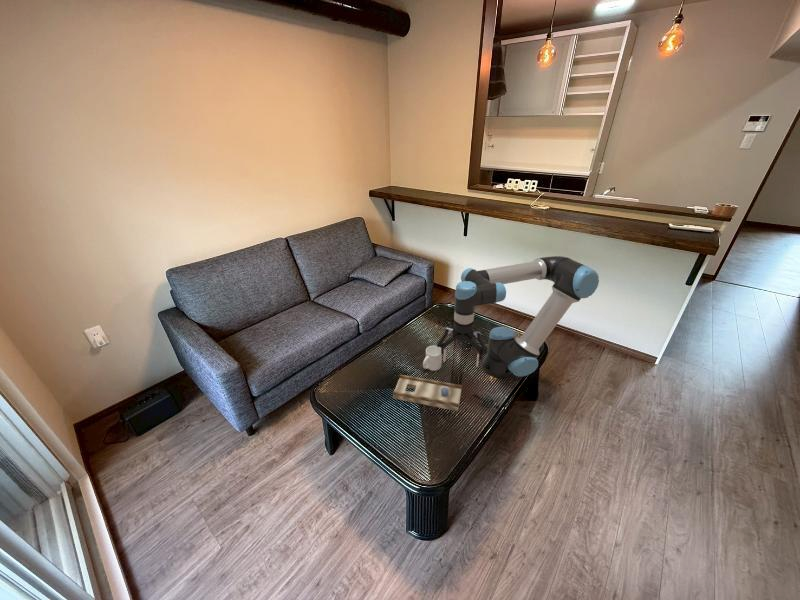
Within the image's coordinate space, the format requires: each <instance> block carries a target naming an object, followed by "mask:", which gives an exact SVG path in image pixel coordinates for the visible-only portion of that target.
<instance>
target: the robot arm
mask: <svg viewBox="0 0 800 600" xmlns="http://www.w3.org/2000/svg"><path fill="white" fill-rule="evenodd" d="M599 279H600V277H599V274H598V273H597V271H596V270H595V269H593V268H591V267H590V266H587V265H585V264H582V263H580V262H578V261H576V260H573V259H572V258H570V257H567V256H561V255H560V256H557V255H556V256H545V257H539V258H535V259H534V260H533V261H529V262H528V261H527V262H522V263H517V264H511V265H505V266H499V267H494V268H486V269H480V270H477V269H475V268H472V267H470V268H466V269H465V270H463V271H462V273H461V274H460V282H458V283H457V284H456V285H455V292H454V314H453V328H450V327H449V326H446V327H445V331H444V332H443V334H442V336H440V339H439V340H438V341H437V344H436V346H437V347H440V348H441V354H442V355H443V356H442V357H443V358H442V360H443V361H442V363H445V362H446V360H447V347H448V346H450V344H452V343H453V342H455V341H457V340H458V341H463V342H468V343H469V344H471V346H472V347H473V348H474V349H475V350H476V351H477V353H476V365H475V367H477V368H479V360H481V361H482V363H481V368H482V370H483V371H484V373H486V374H487V375H489V376H490V377H493V378H498V379H502V378H503V379H505V378H508V377H510V376H511V375H512V374H513V375H514V376H516V377H526V376H529V375H530V374H532V373H534V372H535V371H536V370H537V369H538V367H539V360H538V359H537V358H538V357H539V356H540V350H539V349H541V348H540V347H542V345H543V344H544V342H545V341H546V340H547V338H548V337H549V336H550V334H551V333H552V332H553V330H554V329H555V327H556V326H557V325H558V324H559V322H560V321H561V319H562V318H563V317H564V315H565V314H566V313H567V312H568V310H569V308H570V307H571V306H572V305H573V304H574V303H579V302H580V301H581V299H588V298H589V297H590V296H592V295H594V293H595V292H596V290H597V288H598V286H599V282H600V280H599ZM529 280H537V281H542V280H546V281H547V280H548V281H551V282H553V285H552V286H551V290H552V293H551V294H550V296H549V297H548V298H547V300H546V301H545V302H544V304H543V306H542V307H541V308H540V310H539V311H538V313H537V314H536V316H535V317H534V318H533V320H532V321H531V322H530V324H529V325H528V326H527V328H526V330H525V331H524V333H523V334H522V335H521V336H520V337H517V335H516V331H515V330H514V329H512V328H509V327H507V326H497V327H494V328H491V330H490V332H489V336H488V342H487V343H488V344H487V345H486V343H485V341H484V339H483V337H482V335H481V334H482V333H481V332H482V331H481V330H480V329H478V330H477V331H474V318H475V309H476V307H478V306H485V305H490V304H496V303H499V302H503V301H504V300H505V299H506V297H507V289H506V286H505V285H507V284H512V283H518V282H524V281H529ZM451 333H452V335H451V336H450V337H449V338H447V337H448V335H449V334H451ZM473 336H475V338H477V340H478V341H477V340H475V338H474V337H473ZM516 337H517V338H516ZM446 338H447V339H446ZM478 343H479V344H478ZM483 354H486V355H484V358H483Z"/></svg>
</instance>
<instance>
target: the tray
mask: <svg viewBox="0 0 800 600" xmlns="http://www.w3.org/2000/svg"><path fill="white" fill-rule="evenodd" d="M444 387H445V388H447V389H448V390H449V393H448V394H447V395H442V393H441V389H442V388H444ZM462 387H463V385H462V384H457V383H450V382H446V381H445V382H444V381H440V380H434V379H427V378H423V377H416V376H410V375H406V374H404V375H403V374H399V379H398V380H397V383H396V386H395V389H394V390H392V399H395V400H398V401H399V400H400V401H403V402H409V403H415V404H419V405H425V406H429V407H434V408H440V409H445V410H449V411H454V412H459V407H460V402H461V397H462V396H461V395H462V389H463V388H462ZM408 389H413V390H414V391H408Z"/></svg>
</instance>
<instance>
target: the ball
mask: <svg viewBox="0 0 800 600" xmlns="http://www.w3.org/2000/svg"><path fill="white" fill-rule="evenodd" d="M441 393H442V395H447V394H448V393H449V390H448V389H447V388H445V387H444V388H442V389H441Z"/></svg>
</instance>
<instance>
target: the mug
mask: <svg viewBox="0 0 800 600" xmlns="http://www.w3.org/2000/svg"><path fill="white" fill-rule="evenodd" d="M442 357H443V354H441V347H437V345H429V346H427V347H426V348H425V358H424V359H423V361H422V367H423V369H424V370H425V369H426V370H429V371H431V372H437V371H439V370H440V369H441V368H442V365H443V364H442V363H443V361H442V360H443V358H442Z"/></svg>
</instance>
